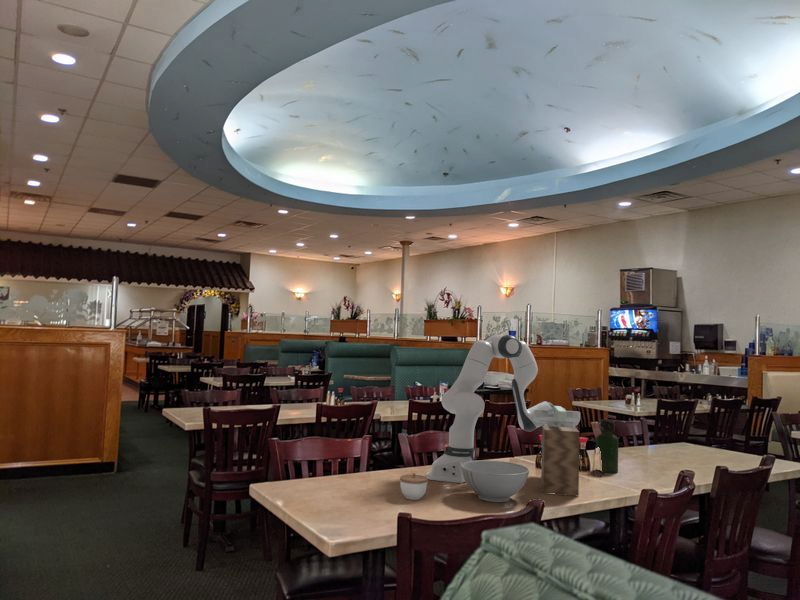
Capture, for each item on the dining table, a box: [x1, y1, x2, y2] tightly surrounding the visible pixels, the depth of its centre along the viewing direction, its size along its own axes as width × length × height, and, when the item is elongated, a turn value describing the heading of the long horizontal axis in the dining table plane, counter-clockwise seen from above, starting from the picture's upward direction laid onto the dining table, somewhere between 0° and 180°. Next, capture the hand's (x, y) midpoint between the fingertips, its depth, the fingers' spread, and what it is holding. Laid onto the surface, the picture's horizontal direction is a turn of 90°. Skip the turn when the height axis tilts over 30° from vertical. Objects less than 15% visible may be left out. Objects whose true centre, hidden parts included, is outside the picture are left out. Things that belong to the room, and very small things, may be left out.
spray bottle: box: [595, 418, 619, 474], centre depth 302 cm, size 10×10×25 cm
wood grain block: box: [540, 425, 580, 496], centre depth 256 cm, size 14×12×26 cm
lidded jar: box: [399, 472, 429, 501], centre depth 237 cm, size 11×11×9 cm
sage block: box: [554, 405, 567, 421], centre depth 261 cm, size 3×21×4 cm, turn 171°
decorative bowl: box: [461, 460, 530, 503], centre depth 241 cm, size 27×27×12 cm
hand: (558, 409), depth 268 cm, fingers closed on sage block, 3 cm apart
